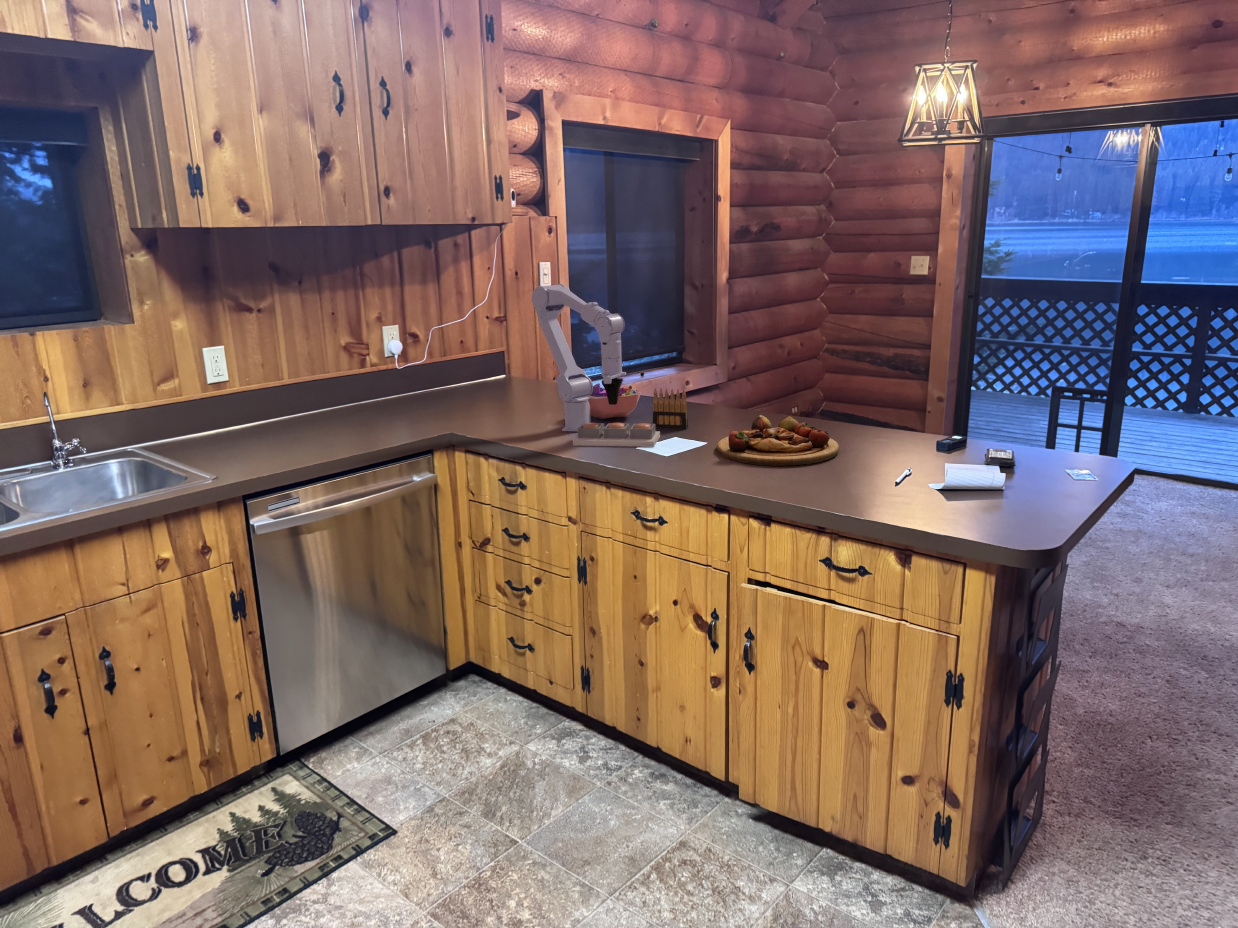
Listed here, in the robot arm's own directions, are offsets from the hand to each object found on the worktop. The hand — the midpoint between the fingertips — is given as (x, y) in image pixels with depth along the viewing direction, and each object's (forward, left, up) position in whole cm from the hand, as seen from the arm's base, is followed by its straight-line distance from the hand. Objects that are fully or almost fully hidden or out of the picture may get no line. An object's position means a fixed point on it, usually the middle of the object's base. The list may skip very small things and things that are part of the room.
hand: (613, 404), depth 248 cm
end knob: (+6, -6, -8) cm, 11 cm away
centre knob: (+6, +2, -8) cm, 10 cm away
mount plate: (+6, +2, -9) cm, 11 cm away
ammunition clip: (-11, +15, -10) cm, 21 cm away
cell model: (-24, -6, -10) cm, 27 cm away
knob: (+6, +10, -8) cm, 14 cm away
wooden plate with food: (+14, +47, -10) cm, 50 cm away
